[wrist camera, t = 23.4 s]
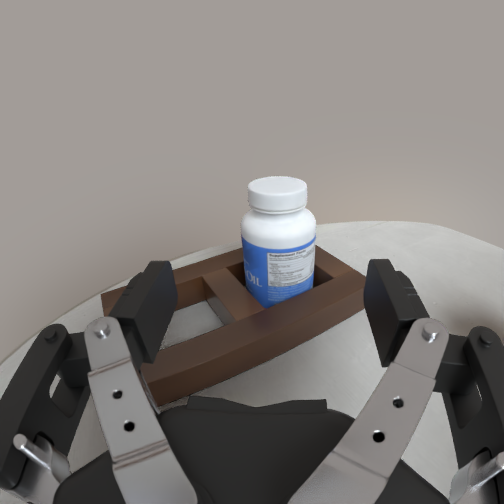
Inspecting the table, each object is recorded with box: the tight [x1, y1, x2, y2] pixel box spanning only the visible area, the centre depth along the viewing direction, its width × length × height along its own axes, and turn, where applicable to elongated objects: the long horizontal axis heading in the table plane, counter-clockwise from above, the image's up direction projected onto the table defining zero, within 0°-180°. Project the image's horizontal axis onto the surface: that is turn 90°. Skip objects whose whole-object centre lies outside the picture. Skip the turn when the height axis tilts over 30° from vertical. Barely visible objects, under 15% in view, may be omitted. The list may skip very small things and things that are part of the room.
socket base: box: [101, 245, 366, 406], centre depth 23 cm, size 11×19×2 cm, turn 119°
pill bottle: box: [241, 176, 316, 309], centre depth 22 cm, size 6×5×10 cm
